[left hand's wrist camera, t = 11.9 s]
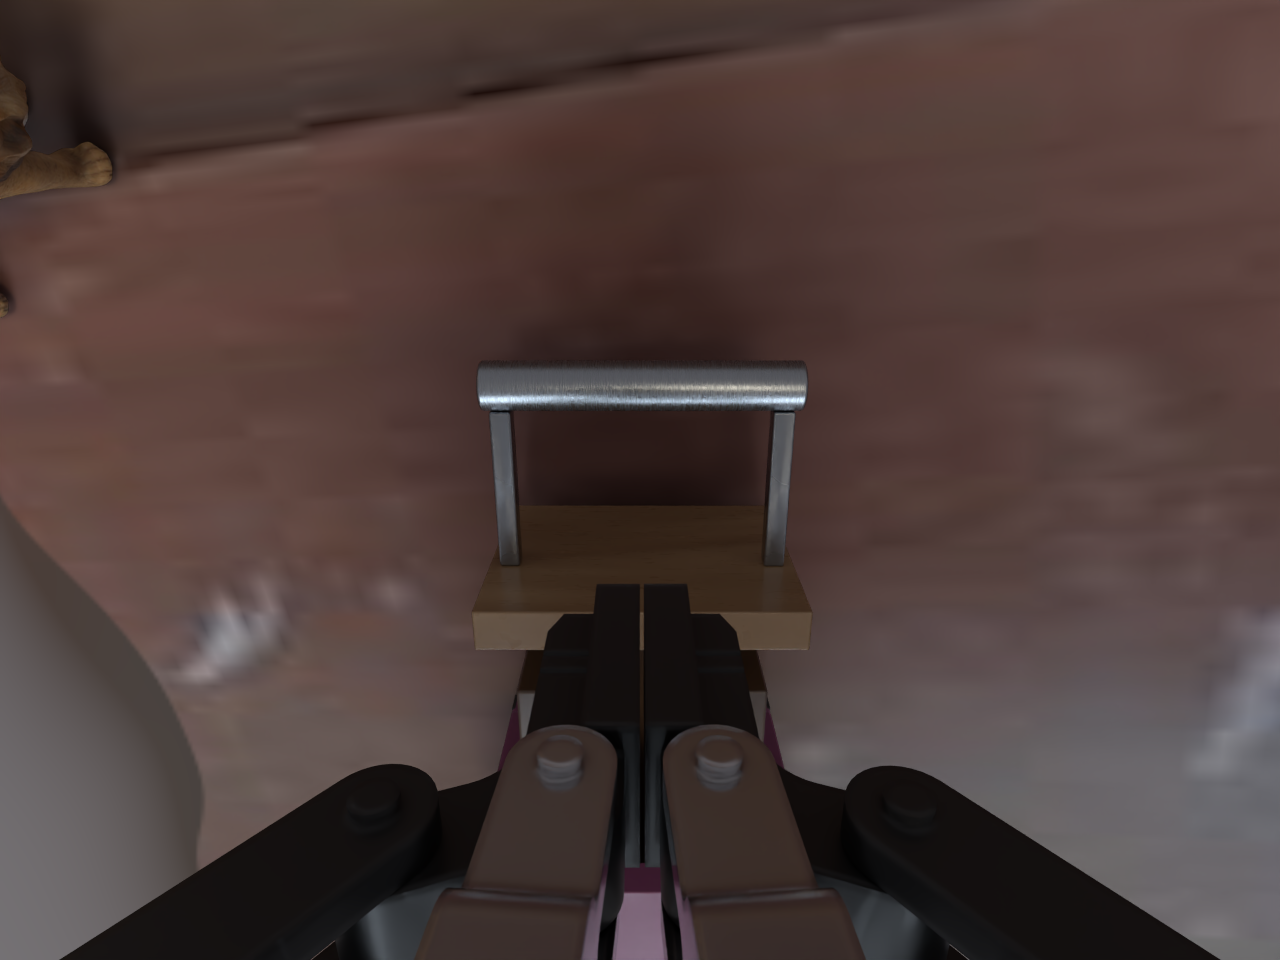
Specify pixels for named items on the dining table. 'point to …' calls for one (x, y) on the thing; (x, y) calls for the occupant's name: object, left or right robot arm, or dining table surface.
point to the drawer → (641, 518)
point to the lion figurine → (39, 155)
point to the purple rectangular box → (640, 875)
